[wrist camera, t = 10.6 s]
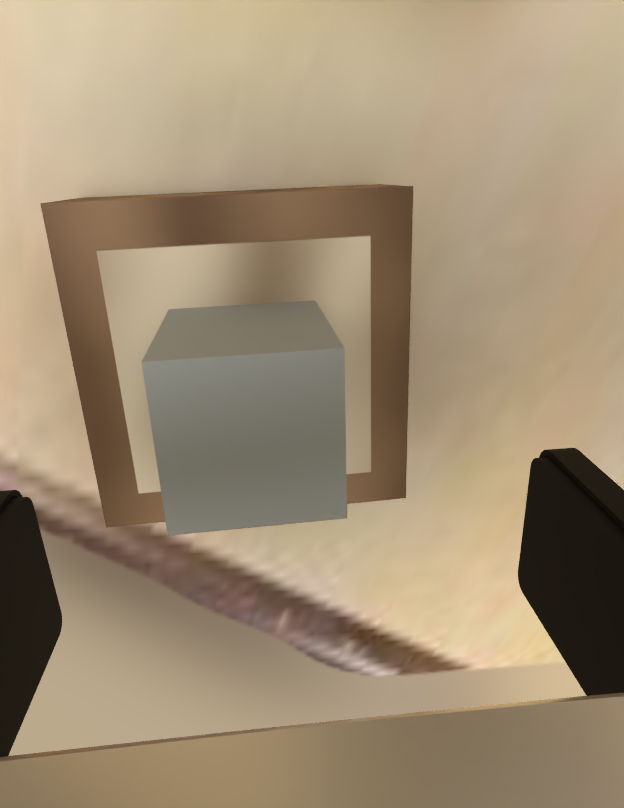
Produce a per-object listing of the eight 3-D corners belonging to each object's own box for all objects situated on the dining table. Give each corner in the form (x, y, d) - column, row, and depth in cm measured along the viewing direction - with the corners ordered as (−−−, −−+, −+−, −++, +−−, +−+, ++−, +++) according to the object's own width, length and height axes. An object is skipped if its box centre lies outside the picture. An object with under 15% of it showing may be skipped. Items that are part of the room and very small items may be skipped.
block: (315, 300, 20) (344, 347, 14) (319, 431, 22) (346, 518, 16) (168, 309, 20) (141, 362, 14) (185, 442, 21) (167, 535, 16)
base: (379, 184, 24) (415, 186, 19) (378, 445, 28) (407, 500, 24) (80, 197, 23) (38, 203, 18) (128, 467, 27) (104, 530, 22)
